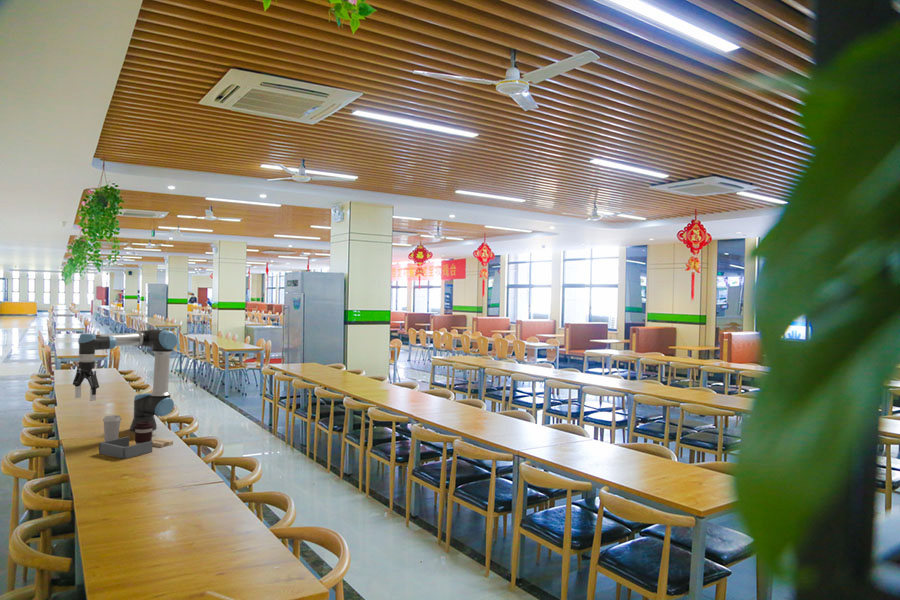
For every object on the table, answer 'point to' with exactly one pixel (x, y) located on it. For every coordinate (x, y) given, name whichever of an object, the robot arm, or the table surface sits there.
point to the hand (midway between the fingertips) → (85, 399)
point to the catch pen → (124, 448)
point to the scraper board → (161, 442)
